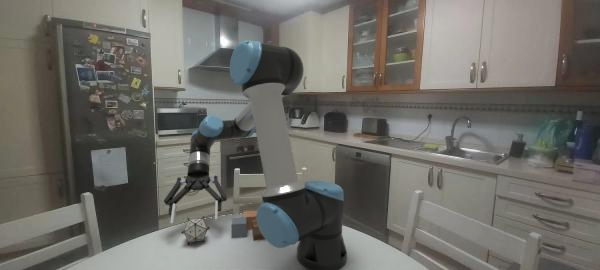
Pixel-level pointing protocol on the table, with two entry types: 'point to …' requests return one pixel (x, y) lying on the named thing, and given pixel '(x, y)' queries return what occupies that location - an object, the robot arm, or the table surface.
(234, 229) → the slate block
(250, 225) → the terracotta block
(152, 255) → the table surface
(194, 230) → the game die
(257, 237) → the walnut block
